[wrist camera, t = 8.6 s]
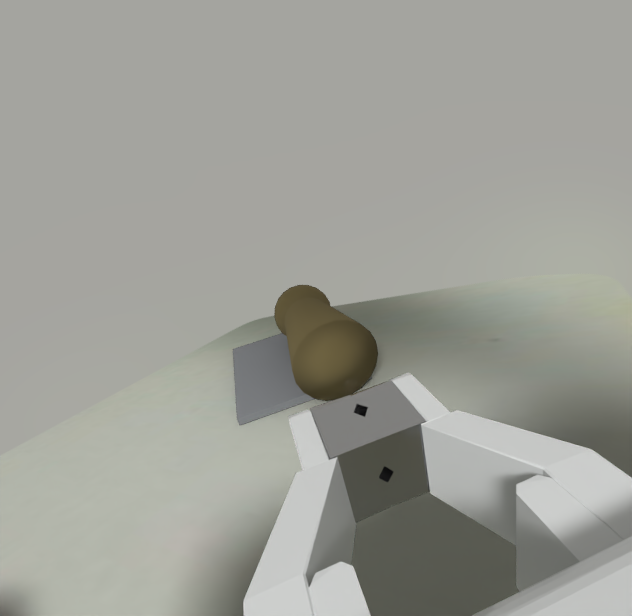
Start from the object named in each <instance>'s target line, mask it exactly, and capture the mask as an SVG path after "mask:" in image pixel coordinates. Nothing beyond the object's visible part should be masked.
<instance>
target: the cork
mask: <svg viewBox="0 0 632 616" xmlns="http://www.w3.org/2000/svg"><path fill="white" fill-rule="evenodd" d="M275 320H276V324H277V326H278V328H279V329H280V331H281V332H282V333H283V334H284V335H285V336H287V342H288V348H289V354H290V360H291V366H292V372H293V375H294V379H295V382H296V384H297V385H298V386H299V388H300V389H301V390H302V391H303V392H304V393H305V394H307V395H309V396H311V397H312V398H315V399H320V400H325V401H327V400H336V399H339V398H342V397H345V396H348V395H351V394H352V393H354V392H355V391H357V390H358V389H360V388H361V387H362V386H363V385H364V384H365V383H366V381H367V380H368V379H369V378H370V377H371V375H372V373H373V370H374V368H375V366H376V362H377V356H378V351H377V345H376V341H375V339H374V337H373V336H372V334H371V332H370V331H369V330H367V329H366V328H365V327H364V326H362V325H361V324H360V323H358V322H356V321H354V320H353V319H351V318H349V317H348V316H346V315H344V314H343V313H341V312H339V311H337V310H336V309H334V308H332V307H331V306H330V302H329V301H328V299H327V298H326V296H325V295H324V294H323V292H321V291H320V290H319V289H317V288H315V287H312V286H309V285H298V286H294V287H291V288H289V289H288V290H286V291H285V292H283V294H282V295H281V296H280V297H279V299H278V301H277V304H276V306H275Z"/></svg>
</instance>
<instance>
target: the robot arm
mask: <svg viewBox="0 0 632 616" xmlns="http://www.w3.org/2000/svg"><path fill="white" fill-rule="evenodd" d="M288 420H289V424H290V428H291V431H292V435H293V438H294V442H295V446H296V449H297V453H298V456H299V460H300V463H301V467H302V471H300V472H297V473H296V474H295V476H294V478H293V481H292V483H291V486H290V488H289V491H288V493H287V496H286V498H285V500H284V503H283V505H282V508H281V510H280V513H279V515H278V517H277V520H276V522H275V525H274V527H273V530H272V532H271V535H270V537H269V539H268V542H267V544H266V547H265V549H264V552H263V554H262V557H261V559H260V561H259V564H258V566H257V569H256V571H255V574H254V576H253V579H252V581H251V583H250V586H249V588H248V591H247V593H246V596H245V598H244V600H243V610H244V616H371V615H370V612H369V609H368V607H367V604H366V601H365V598H364V595H363V592H362V590H361V587H360V584H359V581H358V578H357V575H356V573H355V570H354V567H353V566H352V565H351V562H352V555H353V548H354V540H355V533H356V523H357V522H359V521H361V520H363V519H365V518H368V517H370V516H372V515H374V514H376V513H378V512H381V511H383V510H385V509H387V508H389V507H391V506H394V505H396V504H399V503H402V502H404V501H407V500H409V499H412V498H414V497H417V496H420V495H422V494H425V493H427V492H430V494H432V495H434V496H435V497H437V498H438V499H440V500H442V501H443V502H445V503H447V504H448V505H450V506H452V507H453V508H455V509H456V510H458V511H460V512H461V513H463V514H465V515H466V516H468V517H470V518H471V519H473V520H474V521H476V522H478V523H479V524H481V525H483V526H484V527H486V528H487V529H489V530H491V531H492V532H494V533H496V534H497V535H499V536H501V537H502V538H504V539H505V540H507V541H509V542H510V543H512V544H514V545H515V546H516V587H517V588H518V590H519V591H520V592H518V593H516V594H514V595H512V596H510V597H508V598H506V599H504V600H502V601H500V602H498V603H496V604H494V605H492V606H490V607H488V608H486V609H484V610H482V611H480V612H478V613H476V614H474V615H472V616H632V478H631V477H630V476H629V475H627V474H626V473H624V472H623V471H621V470H620V469H619V468H617V467H616V466H614V465H613V464H612V463H610V462H609V461H607V460H606V459H605V458H603V457H602V456H600V455H599V454H598V453H596V452H595V451H593V450H592V449H589V448H586V447H582V446H579V445H575V444H572V443H569V442H565V441H562V440H558V439H555V438H551V437H548V436H545V435H541V434H538V433H534V432H531V431H527V430H524V429H521V428H517V427H514V426H510V425H507V424H503V423H500V422H497V421H493V420H490V419H486V418H483V417H479V416H476V415H473V414H469V413H466V412H462V411H459V410H456V411H453V412H450V411H449V410H448V409H447V408H446V407H445V406H444V405H443V404H442V403H441V402H440V401H439V400H438V399H437V398H436V397H435V396H434V395H433V394H432V393H431V392H430V391H429V390H428V389H427V388H426V387H424V386H423V385H422V384H421V383H420V382H419V381H418V380H417V379H416V378H415V377H414V376H413V375H412V374H410V373H405V374H403V375H400V376H398V377H395V378H392V379H390V380H388V381H387V382H384V383H381V384H379V385H376V386H373V387H370V388H368V389H365V390H362V391H360V392H357V393H354V394H351V395H348V396H345V397H342V398H339V399H336V400H333V401H330V402H327V403H324V404H321V405H318V406H315V407H312V408H310V410H309V409H307V410H304V411H301V412H298V413H296V414H293V415H290V416H288Z"/></svg>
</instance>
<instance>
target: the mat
mask: <svg viewBox="0 0 632 616" xmlns="http://www.w3.org/2000/svg"><path fill="white" fill-rule="evenodd" d="M233 359H234V376H235V393H236V410H237V420H238V422H239V425H242V424H245V423H248V422H251V421H253V420H256V419H259V418H262V417H265V416H267V415H270V414H273V413H276V412H279V411H282V410H284V409H287V408H290V407H293V406H296V405H298V404H301V403H304V402H307V401H310V400H313V399H315V398H312V397H311V396H309V395H307V394H305V393H304V392H303V391H302V390H301V389H300V388H299V386H298V385H297V384H296V382H295V379H294V375H293V372H292V366H291V360H290V354H289V348H288V342H287V336H285V335H284V334H283V333H282V334H279V335H275V336H272V337H269V338H266V339H263V340H260V341H257V342H253V343H250V344H247V345H244V346H241V347H238V348H235V349H233ZM369 379H372V377H370V378H369ZM369 379H368V380H369Z"/></svg>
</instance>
